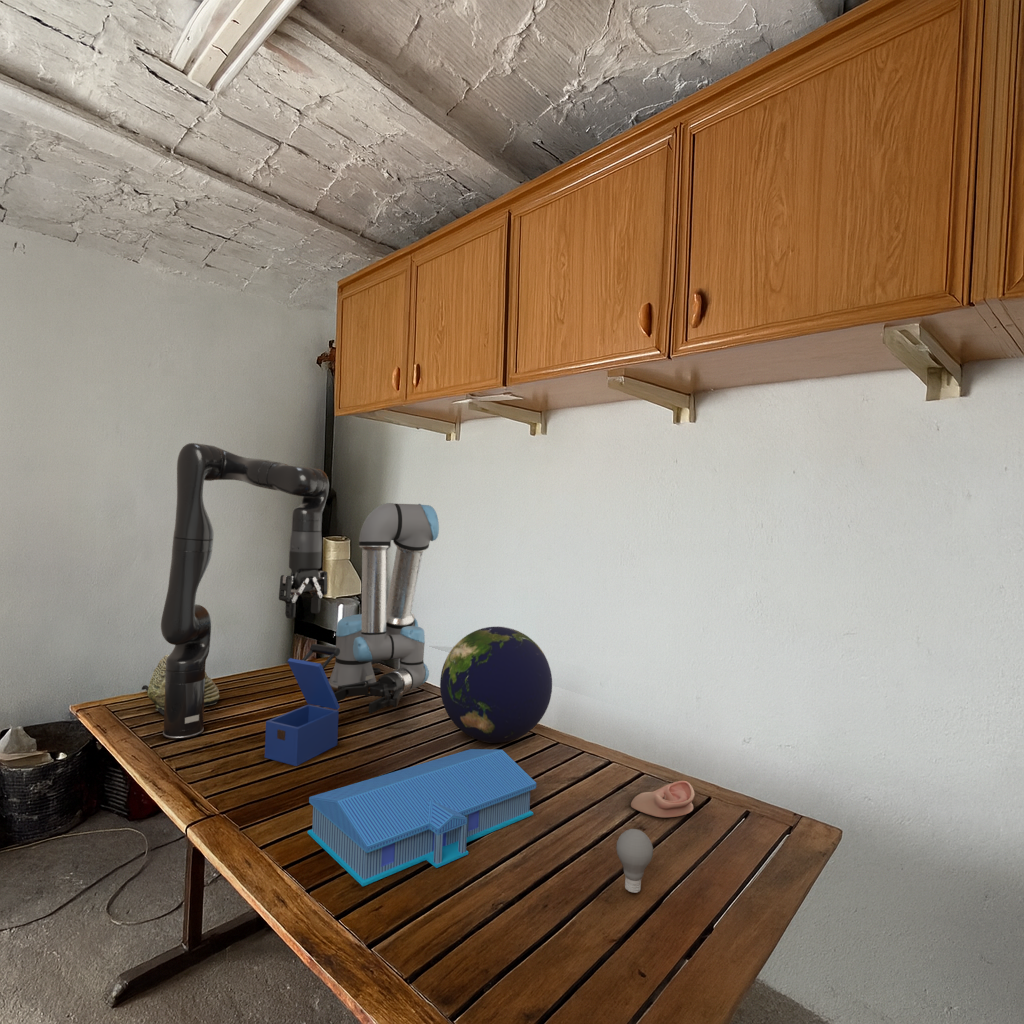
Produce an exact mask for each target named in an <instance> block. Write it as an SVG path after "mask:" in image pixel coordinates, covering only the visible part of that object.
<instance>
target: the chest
mask: <svg viewBox="0 0 1024 1024" xmlns="http://www.w3.org/2000/svg"><path fill="white" fill-rule="evenodd" d="M264 737H265V739H264V759H268V760H272V761H275V762H279V763H284V764H287V765H290V766H294V767H298V766H300V765H302V764H303V763H306V762H308V761H309V760H311V759H313V758H315V757H317V756H320V755H321V754H323V753H325V752H327V751H329V750H331V749H333V748H335V747H336V746H338V740H339V738H338V737H339V710H336V709H331V708H326V707H322V706H317V705H312V704H308V703H307V704H306V705H304V706H301V707H298V708H296V709H293V710H291V711H288V712H286V713H283V714H281V715H278V716H276V717H273V718H271V719H268V720H266V721H265V736H264Z"/></svg>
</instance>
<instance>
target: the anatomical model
mask: <svg viewBox="0 0 1024 1024" xmlns="http://www.w3.org/2000/svg"><path fill="white" fill-rule="evenodd" d="M694 799H695V790H694V788H693V785H691V783H690V782H689V781H686V780H679V781H675V782H671V783H668V784H666V785H664V786H662V787H660V788H658V789H656V790H653V791H643V792H640V793H639V794H637V795H636V796H634V798H633V799H632V800H631V802H630V807H631V808H632V809H633V810H635V811H638V812H641V813H643V814H646V815H648V816H652V817H656V818H675V817H682V816H686V815H687V814H690V813H691V812H693V810H694V804H693V803H692V802H693V801H694Z"/></svg>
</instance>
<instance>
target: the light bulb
mask: <svg viewBox="0 0 1024 1024" xmlns="http://www.w3.org/2000/svg"><path fill="white" fill-rule="evenodd" d="M615 849H616V854H617V857H618V859H619V861H620V863H621V865H622V867H623V873H624V874H623V875H624V876H625V878H624V888H625V890H627V891H628V892H630V893H634V894H635V893H639V892H640V891H641V889H642V887H641V886H642V879H643V877H644V875H645V871H646V868H647V867H648V866H649V864H650V863H651V861H652V859H653V855H654V847H653V843H652V841H651V838H649V836H648V835H647V834H646V833H645V832H643V831H642V830H641V829H636V828H629V829H627V830H625V831H623V832H622V833H621V834H620V835H619V837H618V839H617V841H616V847H615Z"/></svg>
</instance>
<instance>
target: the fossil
mask: <svg viewBox="0 0 1024 1024" xmlns="http://www.w3.org/2000/svg"><path fill="white" fill-rule="evenodd" d="M169 655H170V654H165V655H164V656H163V657H162V658H161V659H160V660H159V662H158V663H157V666H156V667H155V669H154V670H153V672H152V675H151V677H150V680H149V684H148V687H149V688H148V692H147V697H148V699H149V700H150V701H152V703H153V704H154V706H155V711H158V709H157V708H162V709H163V711H164V705H165V674H166V659H167V657H168V656H169ZM220 698H221V696H220V690H219V688H218V686H217V685H216V683H215V682H214V681H213V679H212V678H211V677H209V675H208V674H207V672H206V671H205V693H204V707H207V706H213V705H215V704H217V703H218V701H219V699H220Z"/></svg>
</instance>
